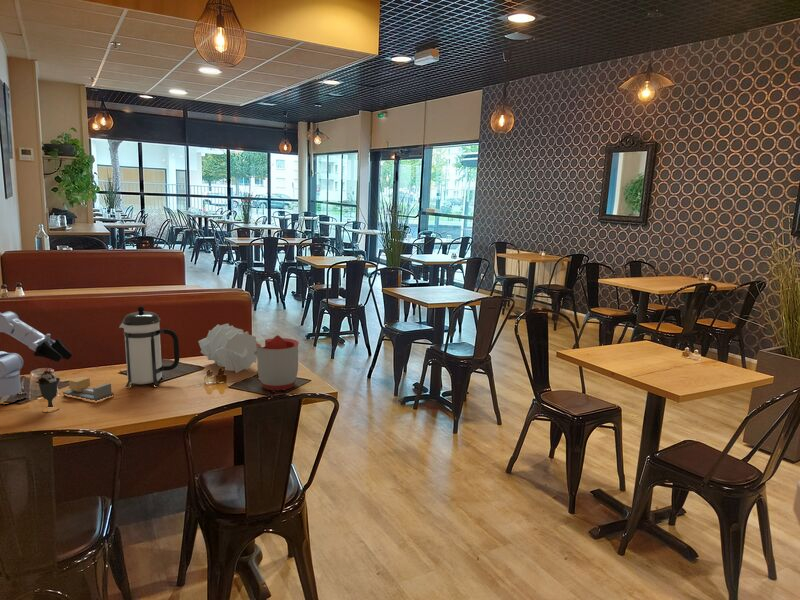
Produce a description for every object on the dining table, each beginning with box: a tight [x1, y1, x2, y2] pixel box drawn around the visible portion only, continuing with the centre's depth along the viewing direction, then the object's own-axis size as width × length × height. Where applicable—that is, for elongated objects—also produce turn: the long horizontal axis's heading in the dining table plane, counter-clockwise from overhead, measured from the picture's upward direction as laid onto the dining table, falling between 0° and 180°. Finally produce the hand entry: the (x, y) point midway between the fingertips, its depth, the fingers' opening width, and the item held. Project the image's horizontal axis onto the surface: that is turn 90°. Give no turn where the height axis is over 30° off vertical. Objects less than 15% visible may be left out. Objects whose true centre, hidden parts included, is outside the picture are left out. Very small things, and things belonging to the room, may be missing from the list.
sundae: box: [35, 364, 61, 407], centre depth 184 cm, size 7×7×15 cm
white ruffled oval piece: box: [198, 323, 259, 374], centre depth 234 cm, size 18×18×25 cm
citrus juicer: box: [254, 334, 300, 391], centre depth 211 cm, size 16×17×20 cm
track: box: [62, 382, 115, 401], centre depth 197 cm, size 16×7×5 cm, turn 68°
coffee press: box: [119, 305, 180, 388], centre depth 210 cm, size 17×16×30 cm
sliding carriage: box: [68, 376, 91, 392], centre depth 198 cm, size 4×5×4 cm
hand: (65, 358), depth 190 cm, fingers open, 7 cm apart
